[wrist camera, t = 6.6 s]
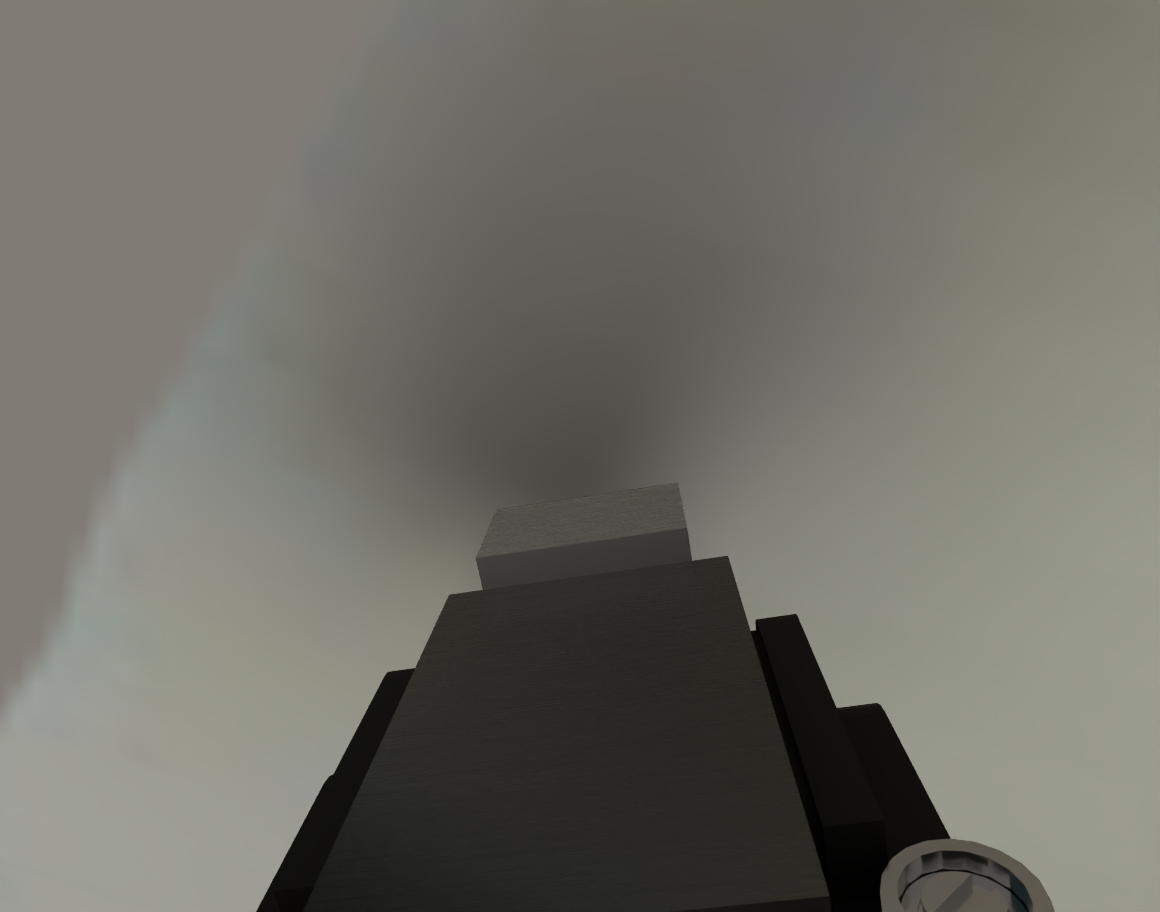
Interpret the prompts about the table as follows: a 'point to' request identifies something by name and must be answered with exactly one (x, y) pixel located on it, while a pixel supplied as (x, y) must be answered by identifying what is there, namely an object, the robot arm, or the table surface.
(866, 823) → the robot arm
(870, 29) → the table surface
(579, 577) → the grey sliding bolt
